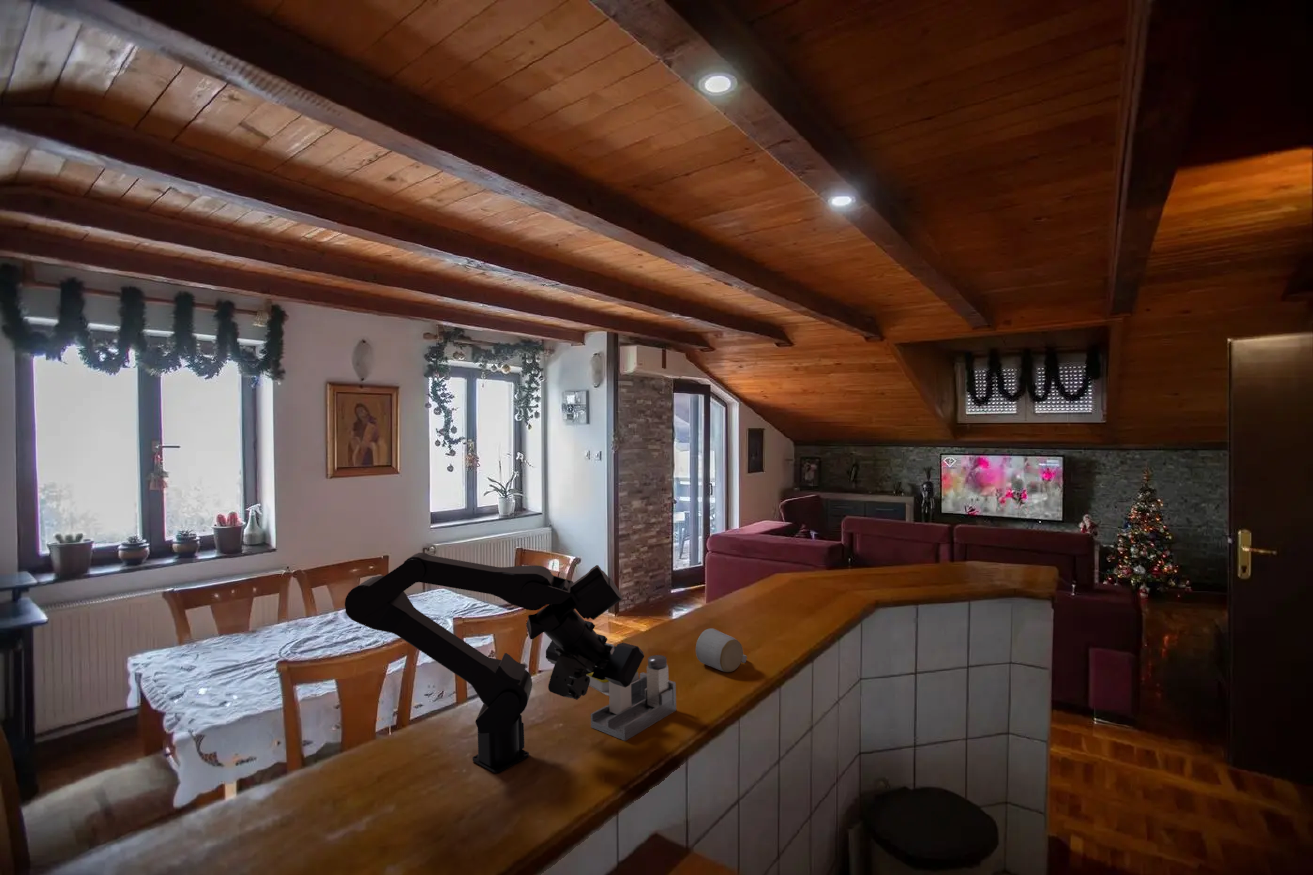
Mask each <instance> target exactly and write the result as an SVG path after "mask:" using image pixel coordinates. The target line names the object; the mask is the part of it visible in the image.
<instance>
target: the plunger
mask: <svg viewBox="0 0 1313 875" xmlns="http://www.w3.org/2000/svg"><path fill="white" fill-rule="evenodd" d="M608 705H609V708H610V712H612V713H615V714H618V713H620V712H622V711H623V710H625V709H627V708H629V707H631V706H632V702H631V684H630V685H629V686H627V687H626V688H625V687H622V686H619V685H616V684H613V683H612V682H610V681H609V696H608Z"/></svg>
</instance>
